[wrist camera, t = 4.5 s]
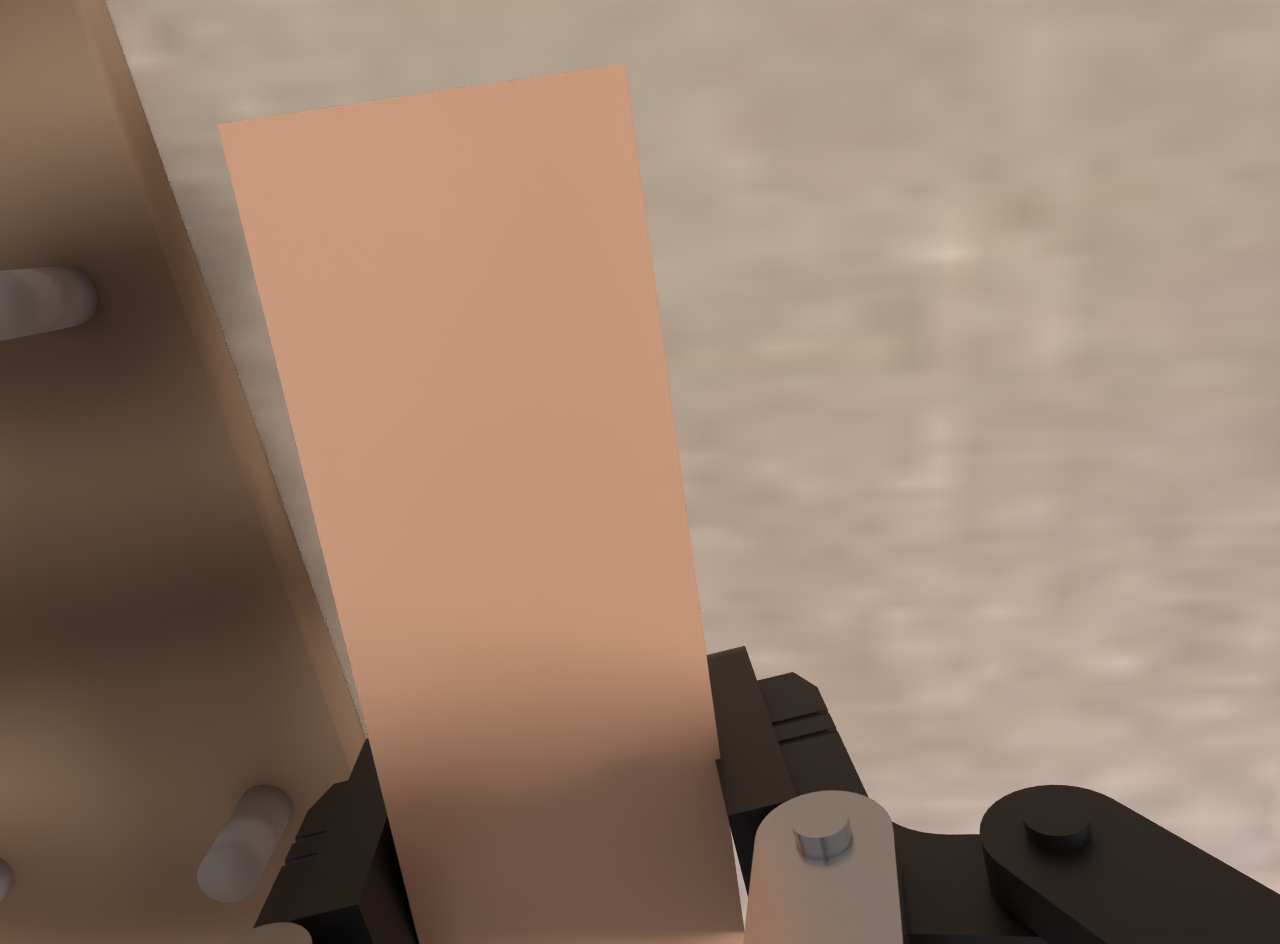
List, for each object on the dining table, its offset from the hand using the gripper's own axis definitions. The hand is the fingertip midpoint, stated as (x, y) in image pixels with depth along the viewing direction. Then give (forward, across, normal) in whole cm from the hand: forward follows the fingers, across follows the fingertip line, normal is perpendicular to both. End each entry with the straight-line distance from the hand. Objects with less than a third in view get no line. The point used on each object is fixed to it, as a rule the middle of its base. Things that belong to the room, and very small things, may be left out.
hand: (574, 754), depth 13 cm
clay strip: (+2, 0, 0) cm, 2 cm away
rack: (+10, +12, -2) cm, 16 cm away
